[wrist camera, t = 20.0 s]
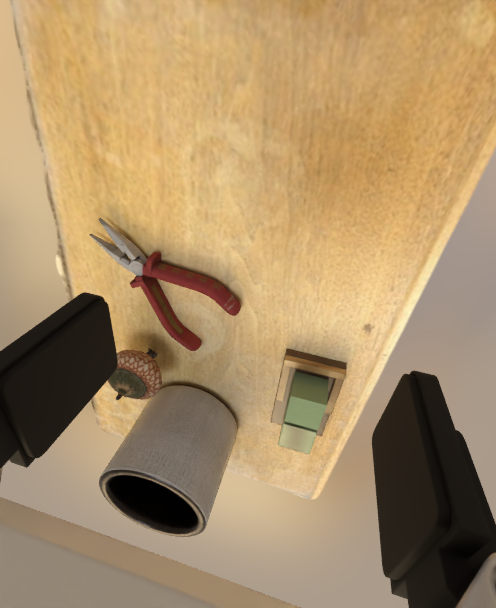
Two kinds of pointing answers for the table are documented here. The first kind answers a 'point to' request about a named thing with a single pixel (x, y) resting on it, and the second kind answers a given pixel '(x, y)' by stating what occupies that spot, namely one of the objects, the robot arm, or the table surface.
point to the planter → (172, 462)
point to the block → (307, 400)
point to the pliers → (155, 269)
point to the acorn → (136, 375)
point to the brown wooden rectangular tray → (293, 361)
